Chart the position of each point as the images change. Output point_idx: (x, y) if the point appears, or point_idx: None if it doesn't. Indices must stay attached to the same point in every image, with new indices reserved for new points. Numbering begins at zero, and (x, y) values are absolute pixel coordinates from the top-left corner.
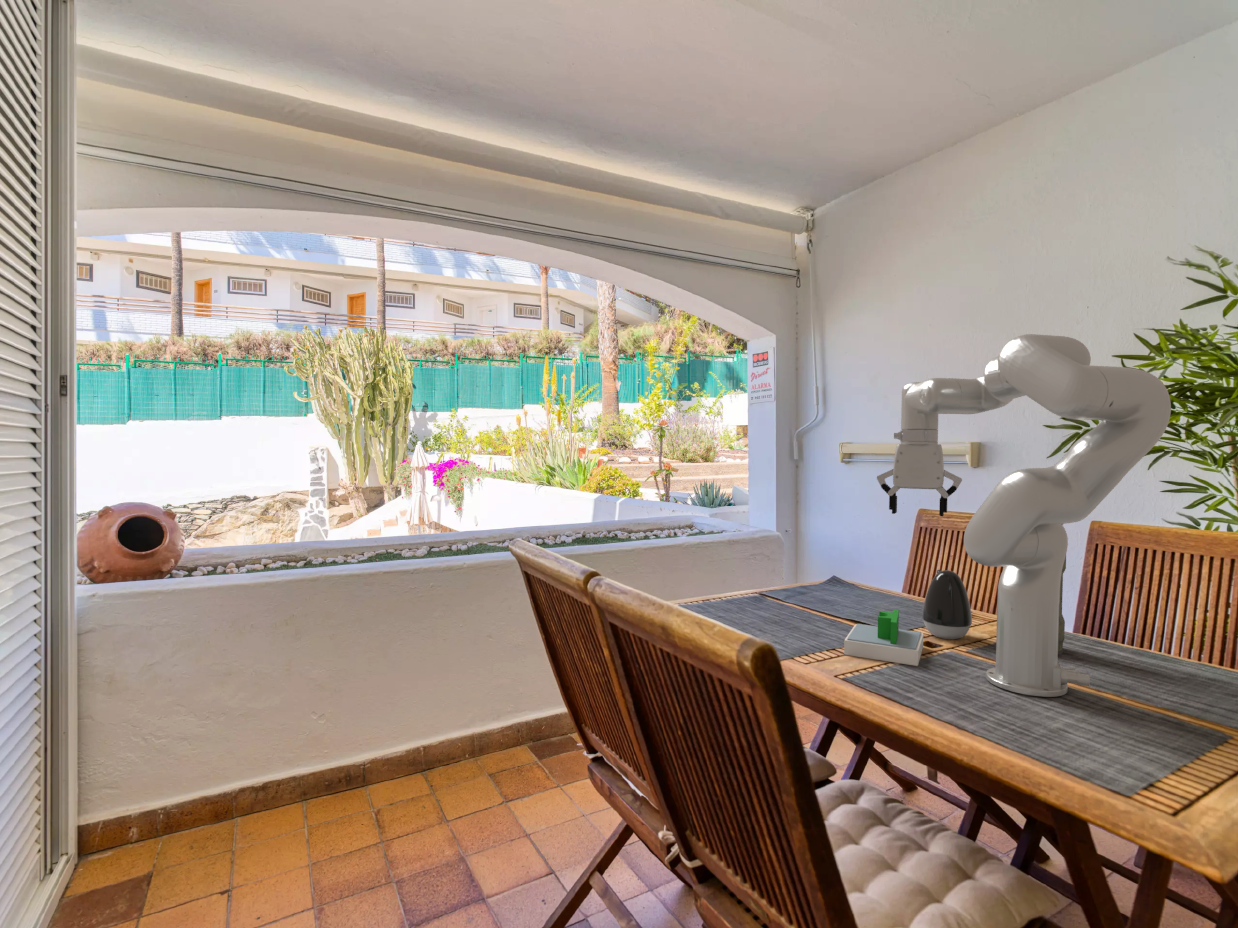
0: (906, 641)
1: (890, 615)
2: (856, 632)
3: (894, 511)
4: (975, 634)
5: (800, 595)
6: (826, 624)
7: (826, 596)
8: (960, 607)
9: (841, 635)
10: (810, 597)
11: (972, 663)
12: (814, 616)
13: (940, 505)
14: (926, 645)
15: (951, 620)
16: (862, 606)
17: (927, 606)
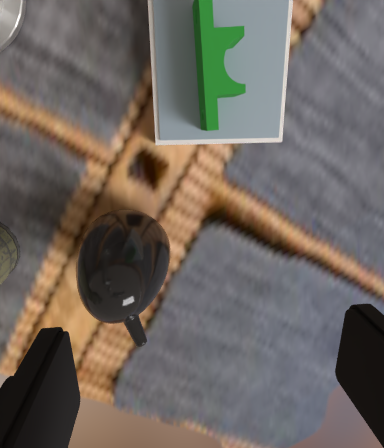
0: (176, 44)
1: (218, 60)
2: (275, 62)
3: (359, 313)
4: None
5: None
6: (326, 199)
7: None
8: (90, 235)
9: (296, 139)
10: None
11: (64, 82)
12: (349, 240)
13: (30, 389)
14: (152, 158)
15: (110, 214)
16: (277, 347)
17: (158, 237)
